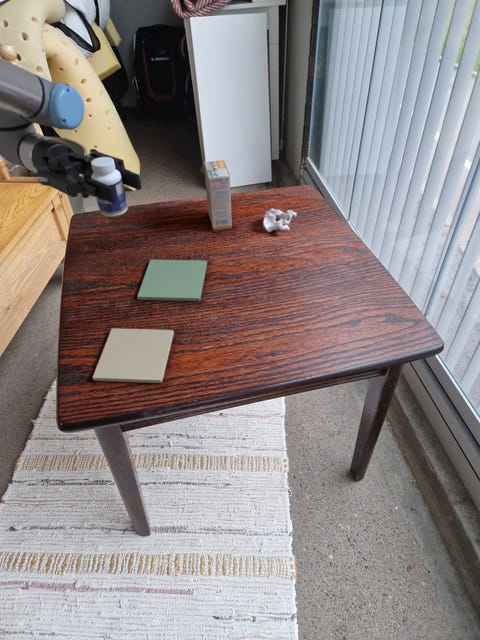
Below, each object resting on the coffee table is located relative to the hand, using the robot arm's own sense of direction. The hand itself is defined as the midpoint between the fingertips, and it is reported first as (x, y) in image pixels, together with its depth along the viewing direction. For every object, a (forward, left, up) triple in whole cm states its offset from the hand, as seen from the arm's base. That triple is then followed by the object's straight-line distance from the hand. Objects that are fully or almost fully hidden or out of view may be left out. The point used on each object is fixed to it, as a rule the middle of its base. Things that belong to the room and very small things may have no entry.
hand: (126, 188), depth 75 cm
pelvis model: (+28, +17, -18) cm, 37 cm away
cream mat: (+4, -24, -18) cm, 30 cm away
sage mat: (+7, -4, -18) cm, 19 cm away
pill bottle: (-4, +3, -6) cm, 8 cm away
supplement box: (+14, +19, -18) cm, 30 cm away
